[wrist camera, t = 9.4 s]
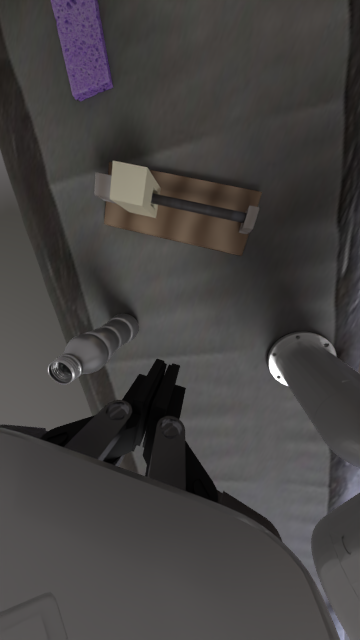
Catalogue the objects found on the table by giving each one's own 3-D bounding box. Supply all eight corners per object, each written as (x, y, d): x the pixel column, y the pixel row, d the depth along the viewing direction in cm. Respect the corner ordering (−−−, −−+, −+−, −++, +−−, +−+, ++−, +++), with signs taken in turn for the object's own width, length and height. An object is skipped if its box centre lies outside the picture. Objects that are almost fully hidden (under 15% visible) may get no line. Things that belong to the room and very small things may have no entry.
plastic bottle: (144, 336, 42) (90, 393, 23) (118, 338, 43) (47, 395, 24) (138, 309, 40) (74, 347, 21) (111, 313, 42) (29, 352, 23)
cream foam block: (160, 188, 30) (147, 167, 24) (155, 218, 32) (142, 206, 25) (133, 182, 31) (112, 160, 24) (129, 212, 32) (109, 198, 26)
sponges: (95, -17, 27) (87, -37, 25) (115, 91, 30) (109, 81, 28) (56, 3, 28) (46, -14, 26) (79, 105, 32) (71, 95, 30)
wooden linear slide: (259, 195, 31) (272, 177, 25) (240, 255, 34) (247, 253, 28) (113, 166, 33) (91, 143, 27) (108, 225, 36) (87, 217, 30)
